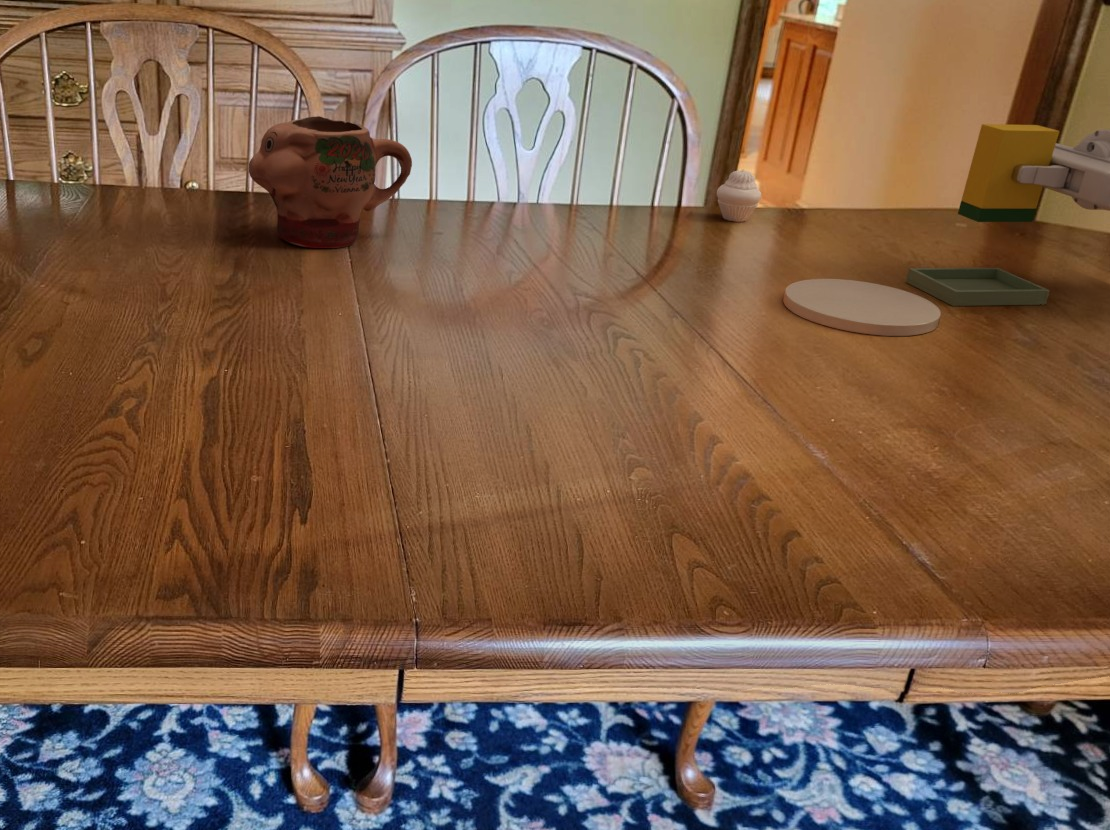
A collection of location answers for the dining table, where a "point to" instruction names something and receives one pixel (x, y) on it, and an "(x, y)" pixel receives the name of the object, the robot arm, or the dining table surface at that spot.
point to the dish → (977, 286)
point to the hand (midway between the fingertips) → (1001, 168)
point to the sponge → (1005, 172)
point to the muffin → (738, 196)
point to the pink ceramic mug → (323, 178)
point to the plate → (861, 307)
